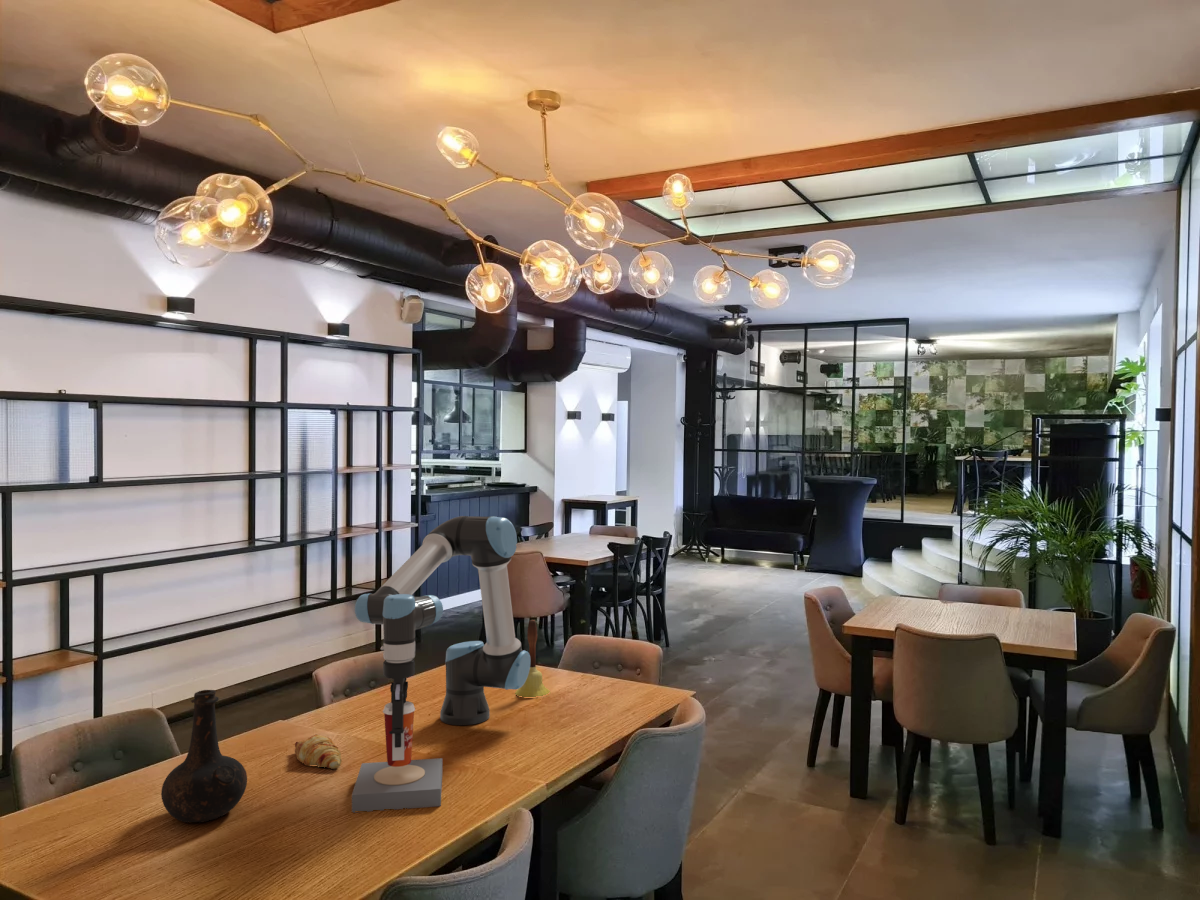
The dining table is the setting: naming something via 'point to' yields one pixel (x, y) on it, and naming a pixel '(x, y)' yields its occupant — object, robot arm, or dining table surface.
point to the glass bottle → (204, 771)
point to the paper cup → (408, 733)
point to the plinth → (398, 785)
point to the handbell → (532, 668)
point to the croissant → (318, 752)
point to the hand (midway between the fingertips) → (399, 754)
